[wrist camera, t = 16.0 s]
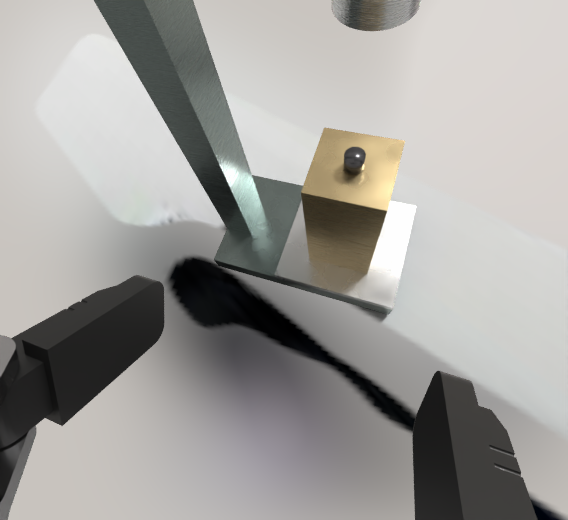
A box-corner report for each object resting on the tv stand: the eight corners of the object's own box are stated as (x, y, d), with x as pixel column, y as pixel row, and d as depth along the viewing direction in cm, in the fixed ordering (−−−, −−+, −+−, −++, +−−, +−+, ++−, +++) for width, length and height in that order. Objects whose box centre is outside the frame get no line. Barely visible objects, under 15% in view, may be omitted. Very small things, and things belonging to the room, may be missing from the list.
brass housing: (380, 221, 29) (408, 128, 19) (367, 273, 28) (390, 200, 17) (325, 209, 30) (324, 115, 20) (309, 258, 29) (299, 182, 19)
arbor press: (418, 185, 33) (757, -614, 7) (388, 314, 28) (1031, -568, 2) (266, 155, 36) (117, -441, 10) (218, 265, 32) (-238, -296, 6)
